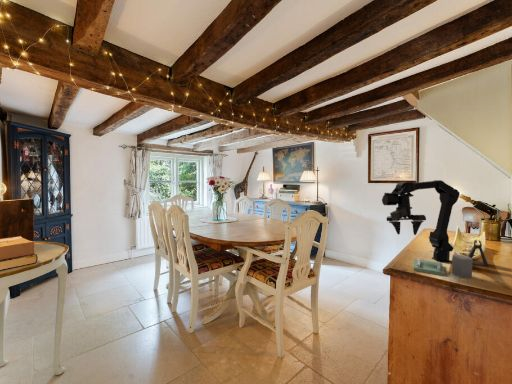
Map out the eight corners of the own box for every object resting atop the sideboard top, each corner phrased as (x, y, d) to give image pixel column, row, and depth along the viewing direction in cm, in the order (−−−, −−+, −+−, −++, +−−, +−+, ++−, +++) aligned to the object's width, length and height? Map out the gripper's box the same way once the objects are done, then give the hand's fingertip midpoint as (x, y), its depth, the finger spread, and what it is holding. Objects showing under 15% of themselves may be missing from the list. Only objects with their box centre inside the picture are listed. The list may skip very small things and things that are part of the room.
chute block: (462, 273, 117) (463, 254, 116) (471, 277, 112) (472, 258, 111) (451, 273, 116) (452, 254, 116) (460, 277, 111) (461, 258, 111)
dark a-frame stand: (465, 262, 131) (466, 240, 130) (465, 260, 136) (466, 238, 135) (488, 266, 125) (490, 243, 124) (487, 263, 130) (489, 241, 129)
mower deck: (442, 265, 126) (442, 260, 126) (444, 276, 114) (444, 269, 113) (414, 261, 133) (414, 256, 133) (413, 270, 120) (413, 264, 120)
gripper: (378, 206, 138) (380, 234, 136) (410, 203, 121) (413, 235, 119) (392, 206, 142) (394, 234, 140) (425, 203, 125) (428, 235, 123)
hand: (406, 234), depth 130 cm, fingers open, 9 cm apart
